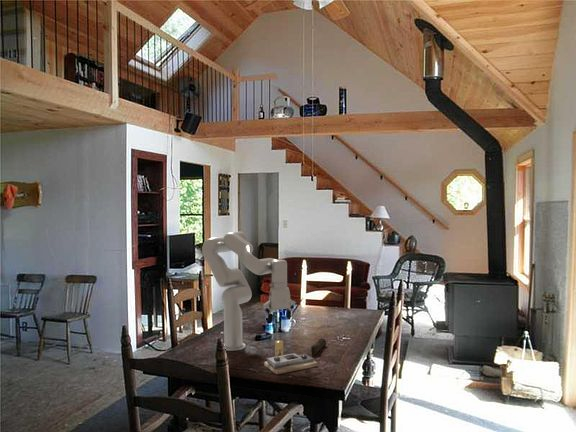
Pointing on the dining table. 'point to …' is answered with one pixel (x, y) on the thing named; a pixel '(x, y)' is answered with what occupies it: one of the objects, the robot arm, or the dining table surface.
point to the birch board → (291, 367)
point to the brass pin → (278, 348)
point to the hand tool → (318, 346)
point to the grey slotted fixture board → (288, 360)
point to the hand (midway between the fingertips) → (279, 320)
